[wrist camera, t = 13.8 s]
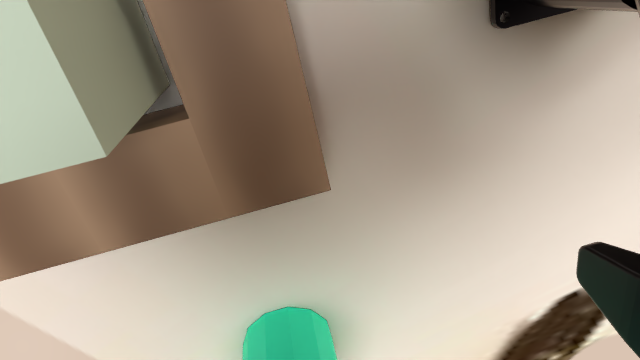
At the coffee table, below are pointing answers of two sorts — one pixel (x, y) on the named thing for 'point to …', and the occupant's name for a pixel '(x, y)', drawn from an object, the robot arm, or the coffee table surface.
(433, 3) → the coffee table surface
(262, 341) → the candle
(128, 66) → the sage peg
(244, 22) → the walnut well block
